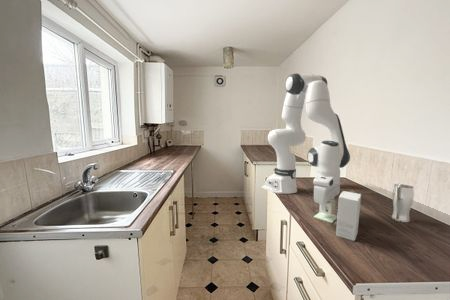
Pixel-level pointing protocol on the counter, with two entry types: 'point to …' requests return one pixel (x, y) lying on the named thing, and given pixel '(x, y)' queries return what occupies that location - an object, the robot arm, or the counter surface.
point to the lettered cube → (328, 207)
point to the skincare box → (348, 215)
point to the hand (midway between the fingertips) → (327, 208)
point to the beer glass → (402, 201)
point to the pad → (326, 217)
